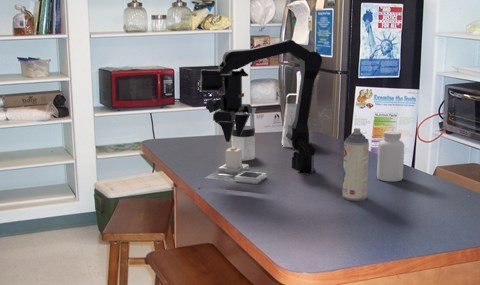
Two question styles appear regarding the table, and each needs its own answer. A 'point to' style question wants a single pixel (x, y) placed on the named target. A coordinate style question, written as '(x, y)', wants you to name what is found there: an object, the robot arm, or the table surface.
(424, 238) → the table surface
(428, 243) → the table surface
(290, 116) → the grater
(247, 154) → the jar
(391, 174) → the pill bottle
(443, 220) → the table surface
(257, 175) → the panel
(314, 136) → the table surface
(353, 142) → the aerosol can
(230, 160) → the plug
